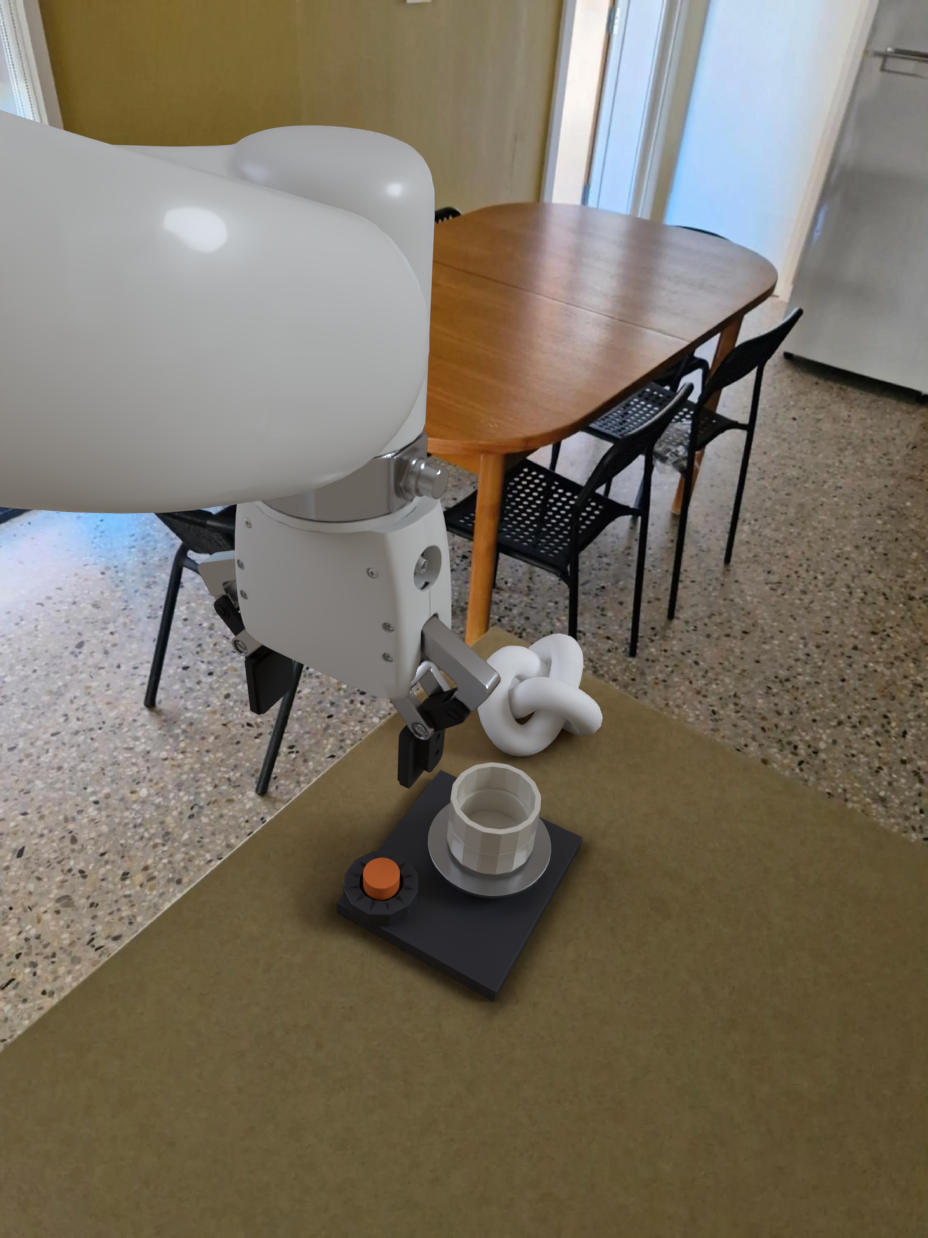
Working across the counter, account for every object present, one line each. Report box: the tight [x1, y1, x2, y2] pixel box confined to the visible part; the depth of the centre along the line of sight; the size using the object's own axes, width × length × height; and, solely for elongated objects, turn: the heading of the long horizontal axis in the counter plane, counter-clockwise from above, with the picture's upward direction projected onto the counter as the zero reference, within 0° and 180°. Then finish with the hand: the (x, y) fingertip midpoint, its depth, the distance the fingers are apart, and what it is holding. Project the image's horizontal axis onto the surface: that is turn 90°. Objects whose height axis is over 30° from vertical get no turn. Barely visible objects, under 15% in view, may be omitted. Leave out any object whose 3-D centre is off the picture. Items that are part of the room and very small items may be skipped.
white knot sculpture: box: [477, 632, 603, 758], centre depth 84 cm, size 11×12×9 cm
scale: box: [336, 769, 584, 1002], centre depth 72 cm, size 16×14×3 cm
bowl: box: [447, 761, 542, 875], centre depth 70 cm, size 7×7×6 cm
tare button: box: [363, 858, 400, 900], centre depth 68 cm, size 3×3×2 cm
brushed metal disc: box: [428, 803, 551, 898], centre depth 72 cm, size 10×10×1 cm
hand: (343, 733), depth 49 cm, fingers open, 9 cm apart
